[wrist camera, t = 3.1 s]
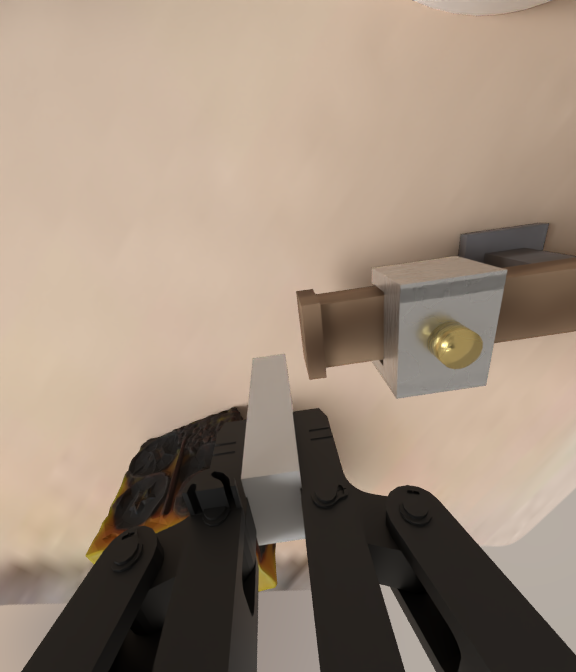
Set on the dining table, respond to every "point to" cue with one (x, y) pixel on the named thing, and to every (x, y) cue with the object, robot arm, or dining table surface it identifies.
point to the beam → (484, 246)
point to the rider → (438, 324)
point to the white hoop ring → (481, 6)
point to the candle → (170, 488)
